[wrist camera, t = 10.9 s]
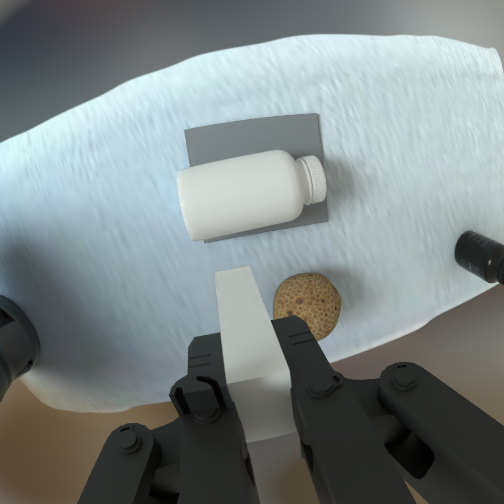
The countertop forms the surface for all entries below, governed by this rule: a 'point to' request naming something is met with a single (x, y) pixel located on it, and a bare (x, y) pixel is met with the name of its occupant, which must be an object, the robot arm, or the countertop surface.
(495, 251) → the supplement bottle
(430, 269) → the countertop surface
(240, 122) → the mat
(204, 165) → the pill bottle
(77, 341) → the countertop surface
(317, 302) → the natural sponge
